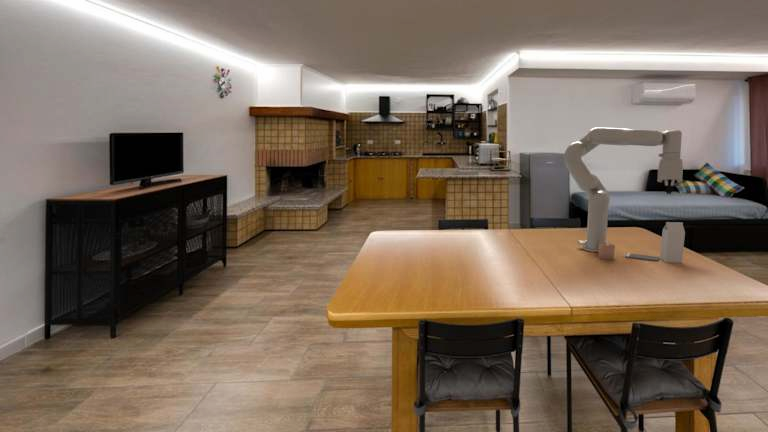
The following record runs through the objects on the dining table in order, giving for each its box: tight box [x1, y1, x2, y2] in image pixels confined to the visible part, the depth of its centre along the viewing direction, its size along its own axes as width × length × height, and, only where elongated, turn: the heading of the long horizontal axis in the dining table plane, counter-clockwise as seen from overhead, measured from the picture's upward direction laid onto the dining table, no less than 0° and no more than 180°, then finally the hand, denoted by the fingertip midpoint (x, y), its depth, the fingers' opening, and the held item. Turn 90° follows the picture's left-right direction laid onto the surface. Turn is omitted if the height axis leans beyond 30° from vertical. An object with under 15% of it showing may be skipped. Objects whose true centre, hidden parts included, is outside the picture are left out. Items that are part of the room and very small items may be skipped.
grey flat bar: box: [624, 252, 660, 262], centre depth 224 cm, size 14×8×1 cm, turn 54°
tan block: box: [597, 242, 616, 261], centre depth 223 cm, size 7×7×7 cm
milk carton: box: [659, 221, 686, 264], centre depth 216 cm, size 7×7×19 cm
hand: (668, 193), depth 221 cm, fingers closed
